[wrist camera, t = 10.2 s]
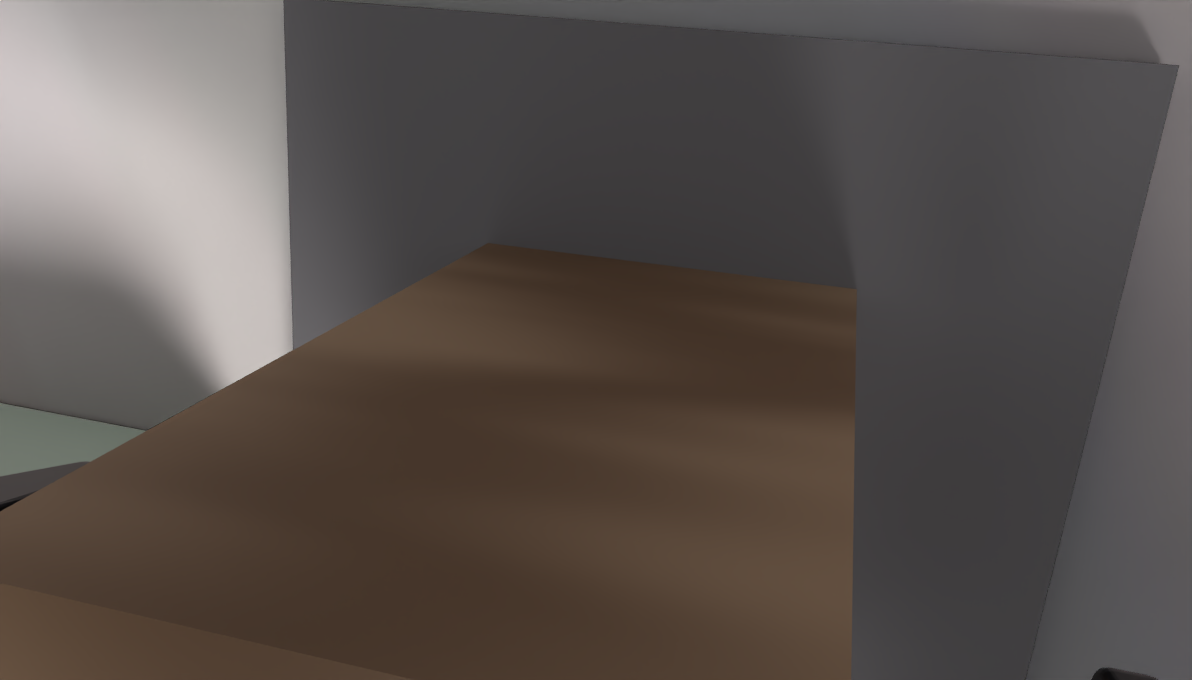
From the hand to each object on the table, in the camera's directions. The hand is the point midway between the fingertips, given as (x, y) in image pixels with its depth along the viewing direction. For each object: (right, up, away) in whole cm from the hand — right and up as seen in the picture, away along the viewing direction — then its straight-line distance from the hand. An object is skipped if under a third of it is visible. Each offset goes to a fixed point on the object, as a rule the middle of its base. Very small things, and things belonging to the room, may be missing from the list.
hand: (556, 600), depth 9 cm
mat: (+1, +1, +4) cm, 4 cm away
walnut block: (+1, +1, +4) cm, 4 cm away
